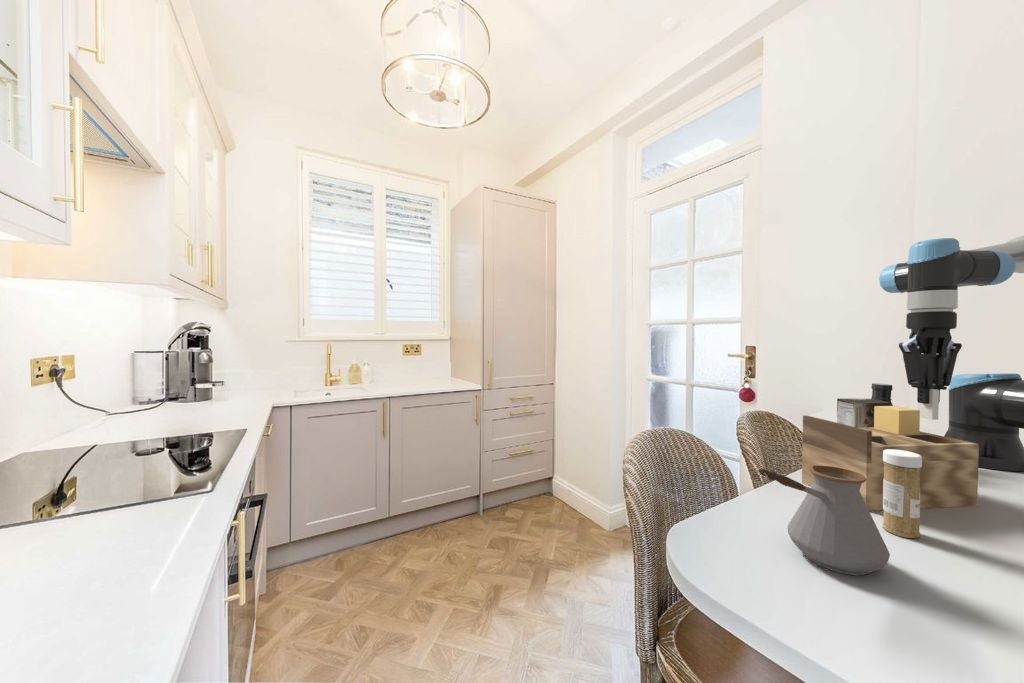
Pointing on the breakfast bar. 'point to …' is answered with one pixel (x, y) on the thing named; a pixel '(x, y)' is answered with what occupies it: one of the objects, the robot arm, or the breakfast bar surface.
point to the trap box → (861, 450)
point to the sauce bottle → (881, 392)
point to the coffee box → (858, 411)
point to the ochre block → (897, 419)
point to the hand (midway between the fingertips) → (927, 418)
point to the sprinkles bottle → (901, 492)
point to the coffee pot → (835, 522)
